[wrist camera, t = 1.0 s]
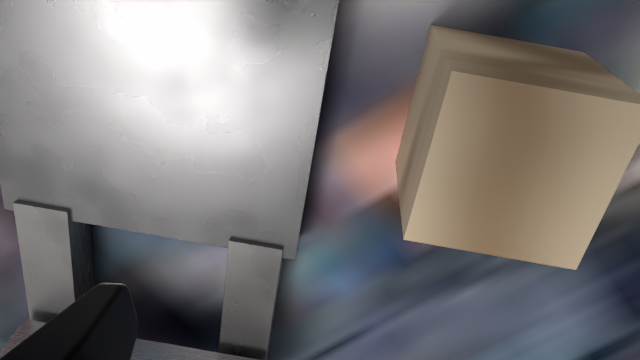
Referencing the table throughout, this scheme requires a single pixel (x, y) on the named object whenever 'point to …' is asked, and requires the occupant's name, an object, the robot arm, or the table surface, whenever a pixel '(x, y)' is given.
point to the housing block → (512, 147)
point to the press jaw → (145, 356)
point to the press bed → (162, 138)
